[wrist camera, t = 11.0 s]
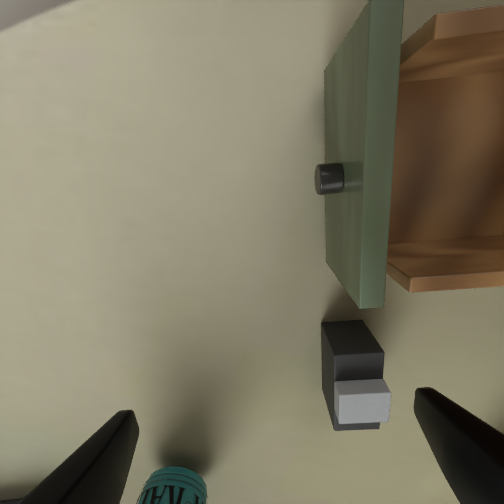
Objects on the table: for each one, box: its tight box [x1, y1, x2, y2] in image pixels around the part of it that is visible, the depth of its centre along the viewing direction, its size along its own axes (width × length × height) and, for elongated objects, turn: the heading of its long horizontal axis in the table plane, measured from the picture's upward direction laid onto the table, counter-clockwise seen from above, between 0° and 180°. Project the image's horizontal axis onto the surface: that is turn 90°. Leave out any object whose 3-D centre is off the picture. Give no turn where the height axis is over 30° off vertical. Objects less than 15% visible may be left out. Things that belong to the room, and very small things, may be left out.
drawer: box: [315, 0, 504, 309], centre depth 13 cm, size 19×12×7 cm, turn 95°
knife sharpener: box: [321, 320, 391, 431], centre depth 20 cm, size 7×3×5 cm, turn 6°
